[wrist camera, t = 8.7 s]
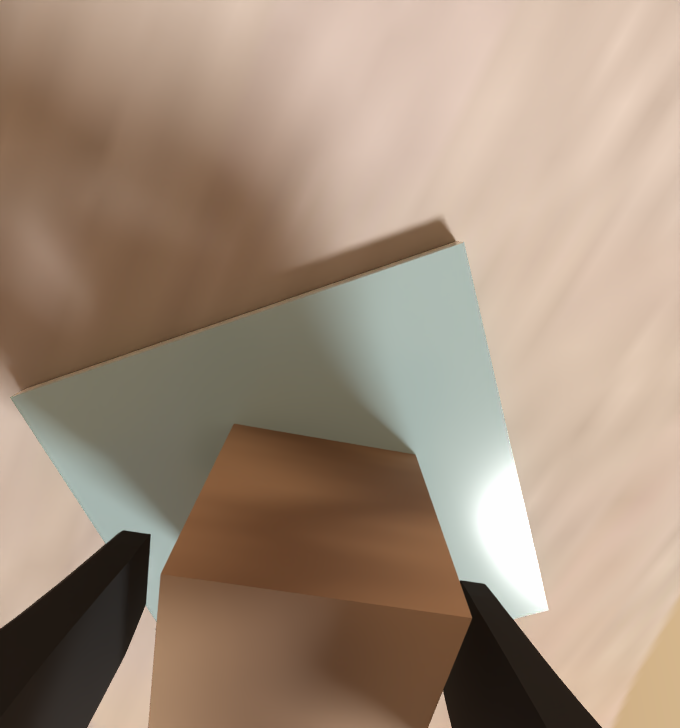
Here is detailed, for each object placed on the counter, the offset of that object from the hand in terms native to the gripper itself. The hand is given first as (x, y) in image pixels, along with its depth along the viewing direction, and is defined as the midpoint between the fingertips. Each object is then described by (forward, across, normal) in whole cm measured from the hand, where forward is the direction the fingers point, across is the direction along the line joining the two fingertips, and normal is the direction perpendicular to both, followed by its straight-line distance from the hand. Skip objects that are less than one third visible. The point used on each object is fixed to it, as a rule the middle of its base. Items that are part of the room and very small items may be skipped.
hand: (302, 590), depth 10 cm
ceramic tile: (+3, 0, 0) cm, 3 cm away
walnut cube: (+3, 0, 0) cm, 3 cm away
